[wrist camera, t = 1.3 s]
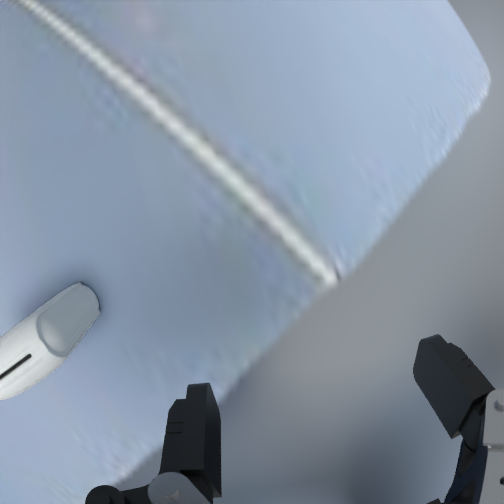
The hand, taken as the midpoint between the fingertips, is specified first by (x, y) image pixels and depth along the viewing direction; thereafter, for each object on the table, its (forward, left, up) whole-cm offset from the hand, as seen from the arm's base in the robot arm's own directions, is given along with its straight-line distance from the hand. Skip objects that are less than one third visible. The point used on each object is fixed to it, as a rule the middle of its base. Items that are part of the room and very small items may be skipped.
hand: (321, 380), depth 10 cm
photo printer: (-10, -15, -19) cm, 27 cm away
